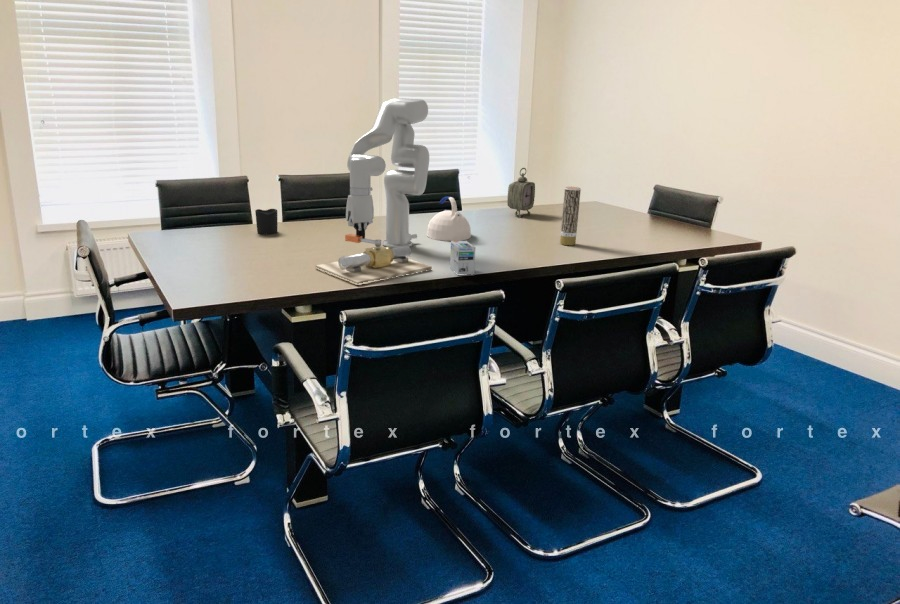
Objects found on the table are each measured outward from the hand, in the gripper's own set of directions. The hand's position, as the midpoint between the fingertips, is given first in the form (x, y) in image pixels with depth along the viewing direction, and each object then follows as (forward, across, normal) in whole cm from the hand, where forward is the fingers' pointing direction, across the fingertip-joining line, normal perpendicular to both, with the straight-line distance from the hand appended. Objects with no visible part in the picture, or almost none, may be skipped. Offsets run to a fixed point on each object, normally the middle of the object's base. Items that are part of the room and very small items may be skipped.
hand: (360, 240), depth 260 cm
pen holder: (+10, +2, -66) cm, 67 cm away
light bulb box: (+10, -24, +31) cm, 40 cm away
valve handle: (0, +2, +5) cm, 5 cm away
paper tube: (+10, -92, +28) cm, 97 cm away
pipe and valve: (+8, +1, +11) cm, 13 cm away
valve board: (+9, +1, +10) cm, 14 cm away
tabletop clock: (+10, -124, -27) cm, 128 cm away
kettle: (+10, -60, -14) cm, 63 cm away
